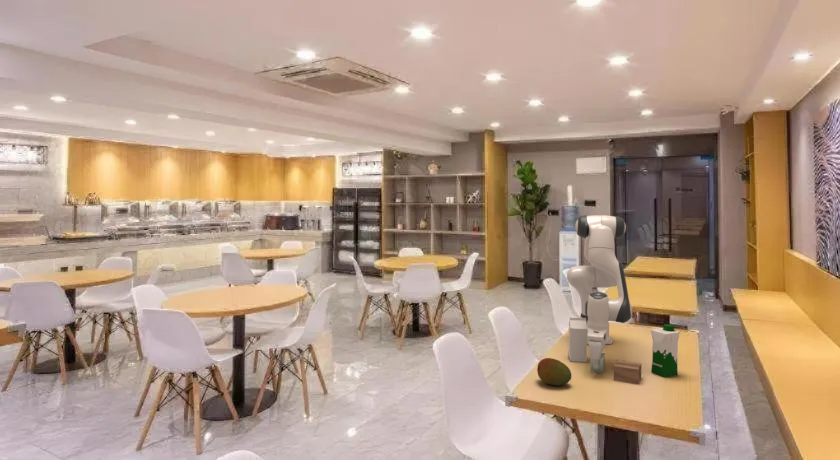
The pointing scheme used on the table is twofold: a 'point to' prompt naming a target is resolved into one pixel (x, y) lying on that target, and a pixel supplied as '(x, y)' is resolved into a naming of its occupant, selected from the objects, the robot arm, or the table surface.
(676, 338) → the soya milk
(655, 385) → the table surface
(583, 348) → the milk carton
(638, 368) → the walnut block
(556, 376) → the fruit
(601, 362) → the grey wooden block
